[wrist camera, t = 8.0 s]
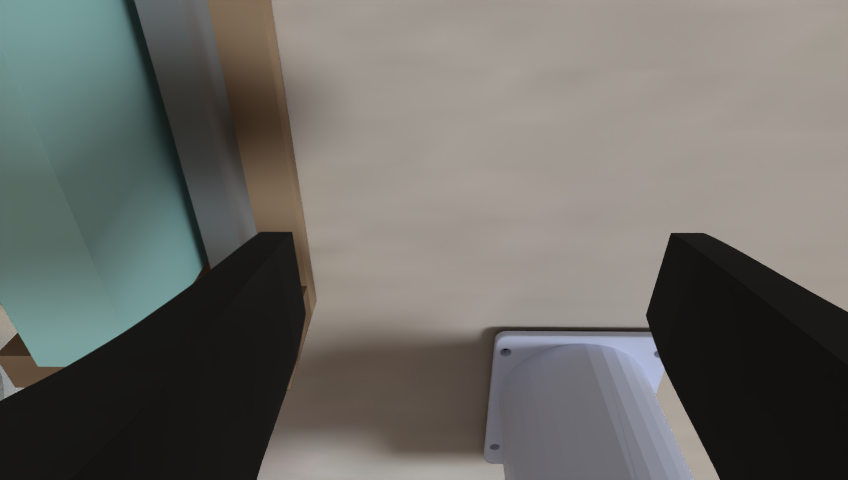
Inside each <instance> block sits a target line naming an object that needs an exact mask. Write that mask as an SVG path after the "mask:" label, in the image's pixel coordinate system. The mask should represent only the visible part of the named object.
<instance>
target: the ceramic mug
mask: <svg viewBox="0 0 848 480" xmlns="http://www.w3.org/2000/svg"><path fill="white" fill-rule="evenodd" d="M3 399H4V388H3V382H2V377H1V374H0V401H1V400H3Z"/></svg>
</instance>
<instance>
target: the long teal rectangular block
mask: <svg viewBox="0 0 848 480" xmlns="http://www.w3.org/2000/svg"><path fill="white" fill-rule="evenodd" d="M207 261H208V257H207V253H206V250H205V246H204V243H203V239H202V236H201V232H200V229H199V225H198V222H197V218H196V215H195V211H194V208H193V204H192V201H191V197H190V194H189V190H188V187H187V183H186V180H185V176H184V173H183V169H182V166H181V162H180V159H179V155H178V152H177V148H176V145H175V141H174V138H173V134H172V131H171V127H170V124H169V120H168V117H167V113H166V110H165V106H164V103H163V99H162V95H161V92H160V88H159V85H158V81H157V78H156V74H155V71H154V67H153V64H152V60H151V57H150V53H149V50H148V46H147V43H146V39H145V36H144V32H143V29H142V25H141V22H140V18H139V15H138V11H137V8H136V4H135V1H134V0H0V303H1V304H2V306H3V308H4V310H5V311H6V313H7V315H8V316H9V318H10V320H11V322H12V323H13V325H14V327H15V328H16V330H17V332H18V333H19V335H20V337H21V339H22V340H23V342H24V344H25V345H26V347H27V349H28V351H29V352H30V354H31V356H32V357H33V359H34V361H35V362H36V364H37V366H38V367H66V366H68V365H70V364H72V363H73V362H75V361H77V360H78V359H80V358H82V357H83V356H85V355H87V354H89V353H90V352H92V351H94V350H95V349H97V348H99V347H100V346H102V345H104V344H106V343H107V342H109V341H110V340H112V339H113V338H115V337H117V336H118V335H120V334H121V333H123V332H125V331H126V330H128V329H129V328H131V327H132V326H134V325H135V324H137V323H138V322H140V321H141V320H142V319H144V318H145V317H147V316H148V315H150V314H151V313H152V312H154V311H155V310H157V309H158V308H159V307H161V306H162V305H164V304H165V303H167V302H168V301H169V300H171V299H172V298H174V297H175V296H177V295H178V294H179V293H181V292H182V291H184V290H185V289H186V288H188V287H189V286H190V285H191V284H193V283H194V281H195V279H196V278H197V276H198V275H199V273H200V272H201V270H202V269H203V267H204V265H205V264H206V262H207Z"/></svg>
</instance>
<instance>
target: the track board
mask: <svg viewBox="0 0 848 480" xmlns="http://www.w3.org/2000/svg"><path fill="white" fill-rule="evenodd" d="M134 1H135V4H136V8H137V11H138V15H139V18H140V22H141V25H142V29H143V32H144V36H145V39H146V43H147V46H148V50H149V53H150V57H151V60H152V64H153V67H154V71H155V74H156V78H157V81H158V85H159V88H160V92H161V95H162V99H163V103H164V106H165V110H166V113H167V117H168V120H169V124H170V127H171V131H172V134H173V138H174V141H175V145H176V148H177V152H178V155H179V159H180V162H181V166H182V169H183V173H184V176H185V180H186V183H187V187H188V190H189V194H190V197H191V201H192V204H193V208H194V211H195V215H196V218H197V222H198V225H199V229H200V232H201V236H202V239H203V243H204V246H205V250H206V253H207V257H208V261H207V262H206V264H205V265H204V267H203V269H202V270H201V272H200V273H199V275H198V276H197V278H196V279H195V281H197V280H198V279H199V278H201V277H202V276H203V275H204V274H206V273H207V272H208V271H210V270H211V269H212V268H214V267H215V266H216V265H217V264H219V263H220V262H221V261H223V260H224V259H225V258H226V257H228V256H229V255H230V254H231V253H233V252H234V251H235V250H236V249H238V248H239V247H240V246H242V245H243V244H244V243H245V242H247V241H248V240H249V239H251V238H252V237H254V236H255V235H256V234H258V233H259V232H292V234H293V240H294V246H295V251H296V257H297V263H298V269H299V275H300V281H301V286H302V292H303V298H304V304H305V310H306V317H305V323H304V328H303V333H302V339H301V343H300V348H299V353H298V357H297V361H296V364H295V367H294V370H293V373H292V376H291V379H290V382H289V385H288V388H287V390H290V388H291V385H292V381H293V378H294V375H295V371H296V368H297V364H298V361H299V358H300V354H301V351H302V348H303V344H304V341H305V337H306V334H307V331H308V327H309V324H310V321H311V317H312V314H313V311H314V307H315V304H316V294H315V288H314V281H313V275H312V268H311V261H310V255H309V248H308V242H307V235H306V229H305V222H304V215H303V209H302V202H301V196H300V189H299V183H298V176H297V169H296V163H295V156H294V150H293V143H292V137H291V130H290V123H289V117H288V110H287V104H286V97H285V91H284V84H283V77H282V71H281V64H280V58H279V51H278V45H277V38H276V31H275V25H274V18H273V12H272V5H271V0H134ZM195 281H194V282H195ZM0 364H1V366H2V367H3V369H4V370H5V372H6V374H7V375H8V377H9V378H10V380H11V381H12V383H13V384H14V386H15V387H23V388H26V387H28V386H30V385H32V384H34V383H36V382H38V381H40V380H42V379H44V378H46V377H48V376H49V375H51V374H53V373H55V372H57V371H59V370H61V369H63V368H64V367H38V366H37V364H36V362H35V361H34V359H33V357H32V356H31V354H30V352H29V351H28V349H27V347H26V345H25V344H24V342H23V340H22V339H21V337H20V335H19V333H17V334H16V335H15V336H14V337H13V338H12V339H11V340H10V341H9V342H8V343H7V344H6V345H5V346H4V347H3V348H2V349H1V350H0Z"/></svg>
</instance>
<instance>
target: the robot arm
mask: <svg viewBox="0 0 848 480" xmlns="http://www.w3.org/2000/svg"><path fill="white" fill-rule="evenodd" d="M305 317H306V310H305V304H304V298H303V292H302V286H301V281H300V275H299V269H298V263H297V257H296V251H295V246H294V240H293V234H292V232H259V233H258V234H256V235H255V236H254V237H252V238H251V239H249V240H248V241H247V242H245V243H244V244H243V245H242V246H240V247H239V248H238V249H236V250H235V251H234V252H233V253H231V254H230V255H229V256H228V257H226V258H225V259H224V260H223V261H221V262H220V263H219V264H217V265H216V266H215V267H214V268H212V269H211V270H210V271H208V272H207V273H206V274H204V275H203V276H202V277H201V278H199V279H198V280H197V281H195V282H194V283H193V284H191V285H190V286H189V287H188V288H186V289H185V290H184V291H182V292H181V293H179V294H178V295H177V296H175V297H174V298H172V299H171V300H169V301H168V302H167V303H165V304H164V305H162V306H161V307H159V308H158V309H157V310H155V311H154V312H152V313H151V314H150V315H148V316H147V317H145V318H144V319H142V320H141V321H140V322H138V323H137V324H135V325H134V326H132V327H131V328H129V329H128V330H126V331H125V332H123V333H121V334H120V335H118V336H117V337H115V338H113V339H112V340H110V341H109V342H107V343H106V344H104V345H102V346H100V347H99V348H97V349H95V350H94V351H92V352H90V353H89V354H87V355H85V356H83V357H82V358H80V359H78V360H77V361H75V362H73V363H72V364H70V365H68V366H66V367H64V368H63V369H61V370H59V371H57V372H55V373H53V374H51V375H49V376H48V377H46V378H44V379H42V380H40V381H38V382H36V383H34V384H32V385H30V386H28V387H26V388H24V389H22V390H20V391H18V392H17V393H15V394H13V395H11V396H9V397H7V398H5V399H3V400H1V401H0V480H257V476H258V473H259V470H260V466H261V463H262V460H263V457H264V454H265V452H266V449H267V446H268V443H269V440H270V437H271V434H272V431H273V428H274V426H275V423H276V420H277V417H278V414H279V411H280V408H281V405H282V403H283V400H284V397H285V394H286V391H287V388H288V385H289V382H290V379H291V376H292V373H293V370H294V367H295V364H296V361H297V357H298V353H299V348H300V343H301V339H302V333H303V328H304V323H305ZM646 317H647V321H648V324H649V327H650V330H651V332H580V331H503V332H500V333H498V334H497V335H496V337H495V342H494V353H493V363H492V373H491V383H490V393H489V403H488V414H487V424H486V434H485V444H484V459H485V461H486V462H488V463H492V464H503V466H504V474H505V480H694V478H693V476H692V473H691V471H690V469H689V467H688V465H687V463H686V460H685V458H684V456H683V454H682V452H681V450H680V447H679V445H678V443H677V441H676V439H675V436H674V434H673V432H672V430H671V428H670V426H669V423H668V421H667V419H666V417H665V415H664V413H663V410H662V408H661V406H660V404H659V402H658V399H657V397H656V395H655V394H656V392H657V389H658V386H659V383H660V381H661V378H662V375H663V372H664V369H665V371H666V373H667V375H668V377H669V379H670V381H671V383H672V385H673V387H674V389H675V391H676V393H677V395H678V397H679V399H680V401H681V403H682V405H683V407H684V409H685V411H686V413H687V415H688V417H689V418H690V420H691V422H692V424H693V426H694V428H695V430H696V432H697V434H698V436H699V438H700V440H701V442H702V444H703V446H704V448H705V450H706V452H707V454H708V456H709V458H710V460H711V462H712V464H713V466H714V468H715V470H716V472H717V474H718V476H719V479H720V480H848V312H847V311H845V310H843V309H841V308H839V307H838V306H836V305H834V304H832V303H830V302H828V301H827V300H825V299H823V298H821V297H819V296H817V295H816V294H814V293H812V292H810V291H809V290H807V289H805V288H803V287H801V286H800V285H798V284H796V283H794V282H793V281H791V280H789V279H787V278H786V277H784V276H782V275H780V274H779V273H777V272H775V271H774V270H772V269H770V268H768V267H767V266H765V265H763V264H761V263H760V262H758V261H756V260H754V259H753V258H751V257H749V256H747V255H746V254H744V253H742V252H740V251H738V250H737V249H735V248H733V247H731V246H729V245H727V244H725V243H724V242H722V241H720V240H718V239H716V238H714V237H711V236H709V235H707V234H705V233H671V235H670V238H669V242H668V245H667V248H666V251H665V255H664V258H663V261H662V264H661V268H660V271H659V274H658V278H657V281H656V284H655V287H654V291H653V294H652V297H651V301H650V304H649V307H648V310H647V314H646ZM505 348H507V349H508V350H502V349H505ZM655 351H656V352H655Z"/></svg>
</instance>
